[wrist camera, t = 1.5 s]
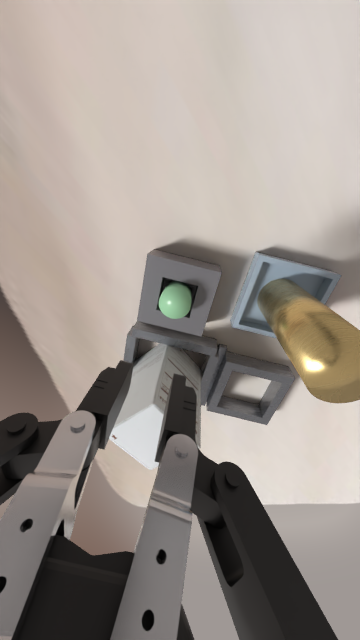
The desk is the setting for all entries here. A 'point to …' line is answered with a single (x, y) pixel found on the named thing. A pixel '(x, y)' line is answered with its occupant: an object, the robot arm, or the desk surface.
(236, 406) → the gray compartment tray
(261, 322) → the tote tray
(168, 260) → the grey square socket block
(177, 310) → the button
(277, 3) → the desk surface
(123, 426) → the supplement box
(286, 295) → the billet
